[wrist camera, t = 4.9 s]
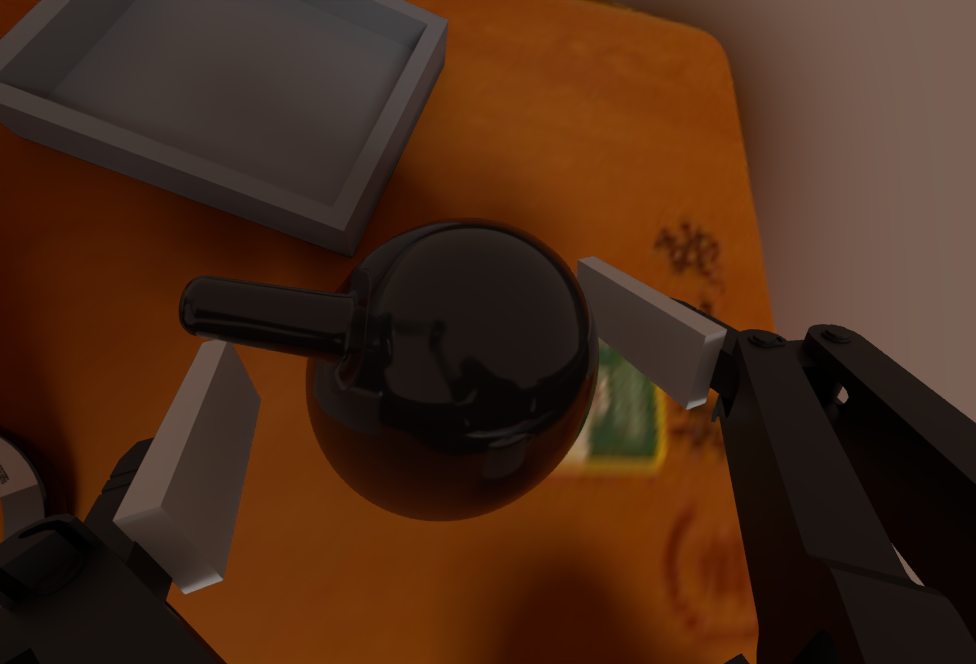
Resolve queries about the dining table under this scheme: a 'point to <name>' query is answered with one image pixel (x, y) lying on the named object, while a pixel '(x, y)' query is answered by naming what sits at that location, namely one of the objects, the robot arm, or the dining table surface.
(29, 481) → the supplement container
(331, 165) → the tray
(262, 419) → the dining table surface
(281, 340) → the pump dispenser
